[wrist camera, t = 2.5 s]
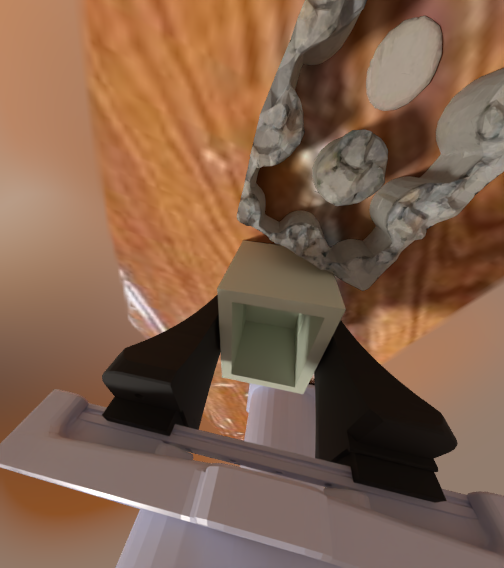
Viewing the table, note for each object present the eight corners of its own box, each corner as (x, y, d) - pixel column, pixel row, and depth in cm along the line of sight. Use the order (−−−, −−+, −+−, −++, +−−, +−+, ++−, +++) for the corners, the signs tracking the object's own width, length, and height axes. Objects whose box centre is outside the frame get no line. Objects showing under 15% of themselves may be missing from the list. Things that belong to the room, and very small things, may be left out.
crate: (300, 329, 15) (303, 394, 11) (239, 319, 16) (221, 377, 12) (326, 251, 11) (346, 309, 7) (242, 240, 12) (216, 288, 8)
